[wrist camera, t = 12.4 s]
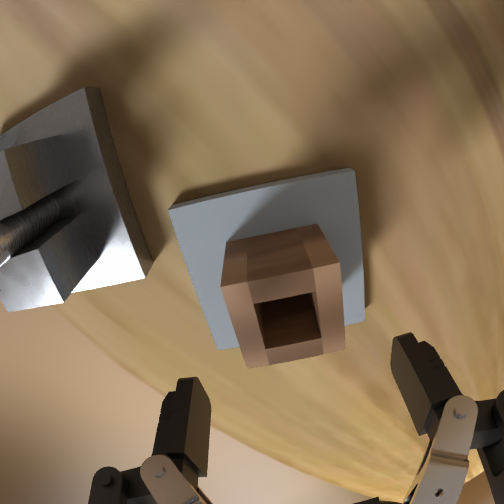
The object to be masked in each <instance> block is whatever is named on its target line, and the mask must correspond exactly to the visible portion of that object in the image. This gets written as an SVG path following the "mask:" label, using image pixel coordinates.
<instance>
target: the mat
mask: <svg viewBox="0 0 504 504" xmlns="http://www.w3.org/2000/svg"><path fill="white" fill-rule="evenodd" d="M168 212H169V215H170V218H171V221H172V224H173V227H174V230H175V233H176V236H177V239H178V242H179V245H180V248H181V251H182V254H183V257H184V260H185V263H186V266H187V269H188V272H189V274H190V277H191V280H192V283H193V286H194V288H195V291H196V294H197V297H198V299H199V302H200V305H201V307H202V310H203V313H204V315H205V318H206V321H207V323H208V326H209V328H210V331H211V334H212V336H213V339H214V341H215V344H216V346H217V349H218V350H223V349H229V348H236V347H240V346H239V343H238V340H237V337H236V334H235V331H234V328H233V325H232V322H231V319H230V316H229V313H228V310H227V307H226V303H225V300H224V297H223V294H222V291H221V288H220V285H221V277H222V269H223V262H224V254H225V247H226V242H230V241H234V240H239V239H244V238H249V237H253V236H258V235H263V234H268V233H273V232H277V231H282V230H287V229H292V228H297V227H302V226H307V225H312V224H318V226H319V227H320V229H321V231H322V232H323V234H324V236H325V237H326V239H327V241H328V243H329V244H330V246H331V248H332V250H333V251H334V253H335V255H336V257H337V258H338V260H339V262H340V269H341V281H342V294H343V308H344V326H346V325H350V324H354V323H358V322H362V321H365V303H364V272H363V253H362V238H361V225H360V213H359V203H358V194H357V185H356V176H355V171H354V170H353V169H351V168H344V169H338V170H332V171H326V172H321V173H315V174H310V175H305V176H299V177H294V178H289V179H284V180H279V181H274V182H269V183H264V184H260V185H255V186H250V187H246V188H241V189H237V190H232V191H228V192H223V193H219V194H215V195H211V196H206V197H202V198H198V199H194V200H190V201H186V202H182V203H178V204H174V205H171V207H170V208H169V210H168Z"/></svg>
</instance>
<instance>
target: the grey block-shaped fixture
mask: <svg viewBox="0 0 504 504" xmlns="http://www.w3.org/2000/svg"><path fill="white" fill-rule="evenodd" d="M152 265H153V261H152V258H151V256H150V253H149V250H148V248H147V245H146V242H145V239H144V237H143V234H142V231H141V228H140V225H139V223H138V220H137V217H136V214H135V211H134V208H133V205H132V202H131V199H130V196H129V193H128V190H127V187H126V184H125V181H124V177H123V174H122V171H121V168H120V164H119V161H118V157H117V154H116V151H115V147H114V144H113V140H112V136H111V133H110V129H109V125H108V121H107V118H106V114H105V110H104V106H103V101H102V97H101V93H100V89H99V88H90V87H83V88H81V89H79V90H77V91H75V92H73V93H71V94H69V95H67V96H65V97H63V98H62V99H60V100H58V101H56V102H54V103H52V104H50V105H49V106H47V107H45V108H43V109H42V110H40V111H38V112H36V113H35V114H33V115H31V116H30V117H28V118H27V119H25V120H23V121H22V122H20V123H19V124H17V125H15V126H14V127H12V128H11V129H9V130H8V131H6V132H5V133H3V134H2V135H0V299H1V301H2V303H3V305H4V306H5V308H6V310H7V312H12V311H18V310H23V309H30V308H36V307H41V306H47V305H53V304H58V303H64V301H65V300H66V299H67V298H68V296H69V295H70V294H71V293H73V292H78V291H83V290H88V289H93V288H98V287H103V286H108V285H113V284H118V283H123V282H128V281H133V280H138V279H143V278H146V276H147V274H148V272H149V270H150V268H151V266H152Z"/></svg>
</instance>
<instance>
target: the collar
mask: <svg viewBox="0 0 504 504" xmlns="http://www.w3.org/2000/svg"><path fill="white" fill-rule="evenodd" d="M220 288H221V291H222V294H223V297H224V300H225V303H226V307H227V310H228V313H229V316H230V319H231V322H232V325H233V328H234V331H235V334H236V337H237V340H238V343H239V346H240V349H241V352H242V355H243V358H244V361H245V363H246V366H247V369H248V368H254V367H261V366H266V365H272V364H278V363H283V362H289V361H294V360H299V359H304V358H309V357H313V356H318V355H322V354H327V353H331V352H336V351H340V350H344V349H345V326H344V308H343V294H342V281H341V269H340V262H339V260H338V258H337V257H336V255H335V253H334V251H333V250H332V248H331V246H330V244H329V243H328V241H327V239H326V237H325V236H324V234H323V232H322V231H321V229H320V227H319V226H318V224H312V225H307V226H302V227H297V228H292V229H287V230H282V231H277V232H273V233H268V234H263V235H258V236H253V237H249V238H244V239H239V240H234V241H230V242H226V247H225V254H224V262H223V269H222V277H221V285H220Z"/></svg>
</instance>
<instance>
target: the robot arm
mask: <svg viewBox="0 0 504 504" xmlns="http://www.w3.org/2000/svg"><path fill="white" fill-rule="evenodd" d="M391 370H392V374H393V376H394V379H395V381H396V383H397V385H398V388H399V390H400V392H401V394H402V397H403V399H404V401H405V404H406V406H407V408H408V411H409V413H410V415H411V418H412V420H413V423H414V425H415V427H416V430H417V432H418V435H419V436H421V435H423V434H426V433H427V434H428V437H429V441H428V444H427V447H426V450H425V453H424V455H423V458H422V461H421V463H420V466H419V468H418V471H417V473H416V476H415V478H414V480H413V482H412V484H411V486H410V488H409V490H408V492H407V494H406V496H405V498H404V501H403V503H398V502H392V501H379V497H376V498H372V499H369V500H366V501H362V502H358V503H354V504H457V501H458V498H459V496H460V493H461V490H462V487H463V484H464V481H465V478H466V474H467V471H468V467H469V460H468V454H469V450H470V449H477V451H478V454H479V457H480V459H481V462H482V465H483V468H484V470H485V473H486V476H487V479H488V482H489V485H490V488H491V491H492V494H493V498H494V501H495V504H504V390H503V391H502V392H500V394H499V395H498V397H497V398H496V399H490V400H484V401H474V400H473V399H472V398H470V397H468V396H464V395H463V394H462V393H461V392H460V390H459V388H458V386H457V385H456V383H455V381H454V380H453V378H452V376H451V374H450V373H449V371H448V369H447V368H446V366H444V363H443V361H442V359H440V356H439V355H438V353H437V351H436V350H435V348H434V347H433V346H431V345H430V344H428V343H427V342H426V341H422V342H419V343H418V341H417V340H416V338H415V336H414V335H413V334H412V333H411V332H409V333H406V334H403V335H400V336H396V337H394V338H393V344H392V353H391ZM210 421H211V404H210V400H209V397H208V395H207V394H206V392H205V390H204V388H203V386H202V384H201V382H200V380H199V379H198V377H189V378H180V379H178V381H177V386H176V391H172V392H169V393H168V394H167V396H166V397H165V399H164V400H163V402H162V407H161V414H160V417H159V423H158V427H157V432H156V437H155V443H154V448H153V453H152V456H151V457H149V458H147V459H146V460H145V461H144V462H143V464H142V466H140V467H137V468H134V469H130V470H126V471H121V472H120V471H118V470H117V469H116V468H113V467H103V468H101V469H100V470H98V471H97V472H96V474H95V475H94V477H93V481H92V486H91V491H90V496H89V502H88V504H213V503H212V502H211V501H210V500H209V498H208V497H207V496H206V495H205V494H204V493H203V491H202V490H201V489H200V487H198V477H207V467H208V450H209V435H210Z"/></svg>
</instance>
